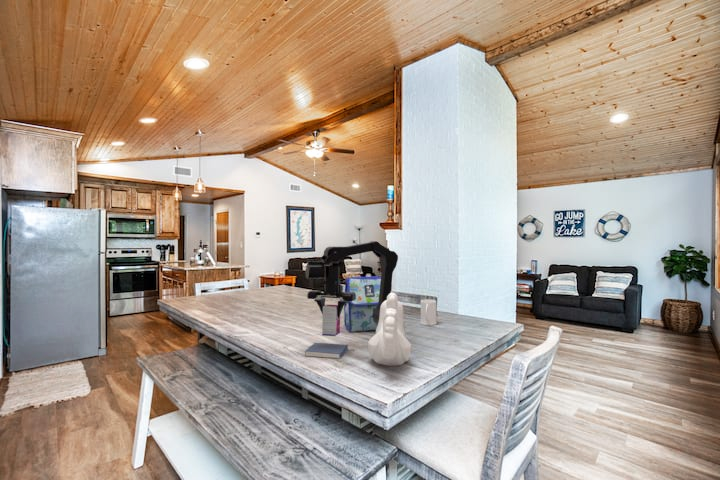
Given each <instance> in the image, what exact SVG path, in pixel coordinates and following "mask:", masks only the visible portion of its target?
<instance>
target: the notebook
mask: <svg viewBox="0 0 720 480" xmlns="http://www.w3.org/2000/svg"><path fill="white" fill-rule="evenodd" d="M348 350H349V345H348V344H343V343H327V342H314V343H313V344H311V345H310V346H309V347H307V348H306V349H305V350H304V357H312V358H313V357H314V358H324V359H325V358H326V359H339V360H340V359H342V357H343V356H344V355H346V353H347V352H348Z"/></svg>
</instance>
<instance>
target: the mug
mask: <svg viewBox="0 0 720 480" xmlns="http://www.w3.org/2000/svg"><path fill="white" fill-rule="evenodd" d="M419 324H421V325H423V326H435V325H437V300H435V299H421V300H420V323H419Z"/></svg>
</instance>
